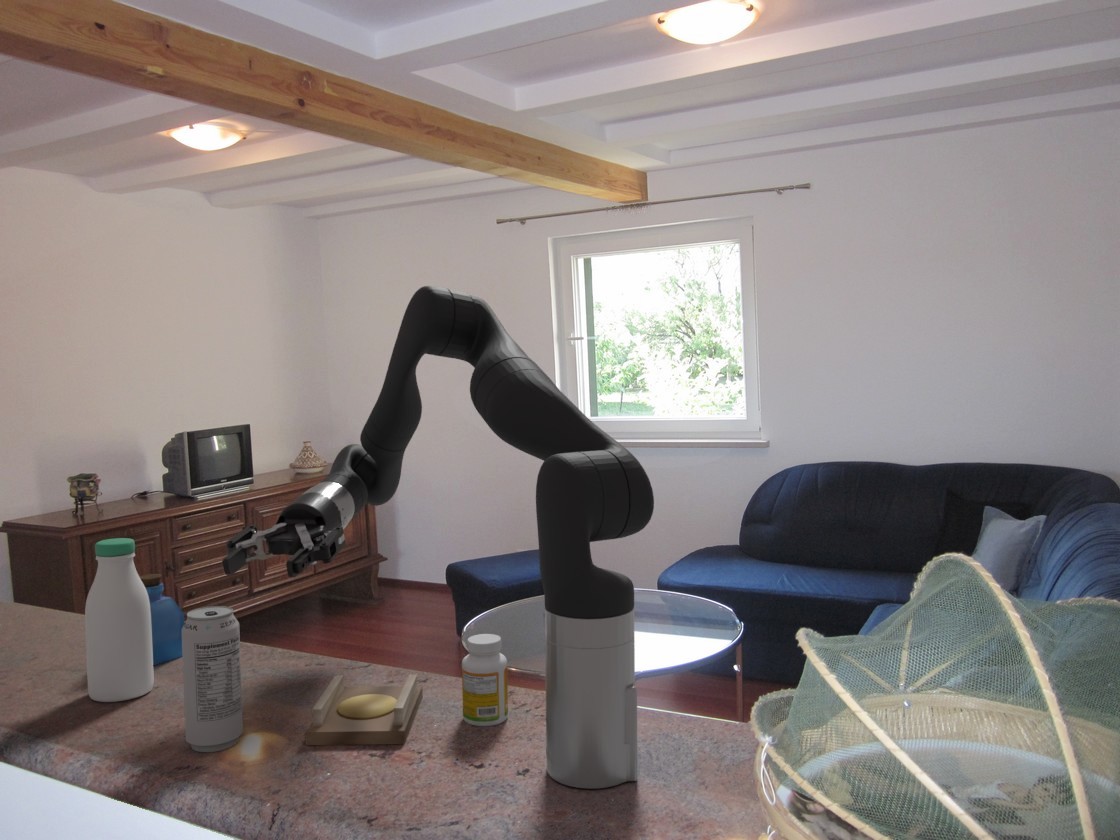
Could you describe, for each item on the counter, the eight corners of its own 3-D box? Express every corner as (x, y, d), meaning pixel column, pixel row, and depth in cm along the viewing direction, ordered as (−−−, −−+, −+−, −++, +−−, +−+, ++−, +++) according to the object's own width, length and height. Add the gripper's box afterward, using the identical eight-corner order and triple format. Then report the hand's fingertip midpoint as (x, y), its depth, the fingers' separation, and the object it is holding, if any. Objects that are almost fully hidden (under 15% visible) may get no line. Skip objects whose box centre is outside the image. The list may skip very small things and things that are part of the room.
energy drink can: (235, 727, 107) (231, 601, 106) (249, 745, 102) (244, 613, 101) (181, 740, 104) (175, 610, 103) (192, 759, 99) (187, 622, 98)
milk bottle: (164, 691, 119) (158, 539, 118) (102, 708, 113) (94, 549, 112) (139, 678, 124) (133, 532, 123) (79, 693, 119) (71, 541, 117)
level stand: (422, 697, 116) (422, 670, 116) (404, 743, 102) (404, 713, 102) (335, 698, 116) (335, 671, 116) (306, 745, 102) (305, 714, 102)
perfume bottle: (185, 655, 134) (182, 574, 133) (146, 667, 128) (142, 583, 128) (159, 648, 137) (156, 569, 136) (120, 660, 132) (117, 578, 131)
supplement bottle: (485, 706, 113) (483, 629, 112) (517, 716, 109) (516, 637, 109) (453, 719, 109) (451, 639, 108) (486, 731, 105) (484, 648, 105)
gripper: (266, 490, 127) (200, 540, 112) (361, 491, 124) (306, 542, 109) (275, 540, 129) (211, 595, 114) (369, 542, 126) (316, 599, 111)
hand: (258, 569), depth 112 cm, fingers open, 8 cm apart
